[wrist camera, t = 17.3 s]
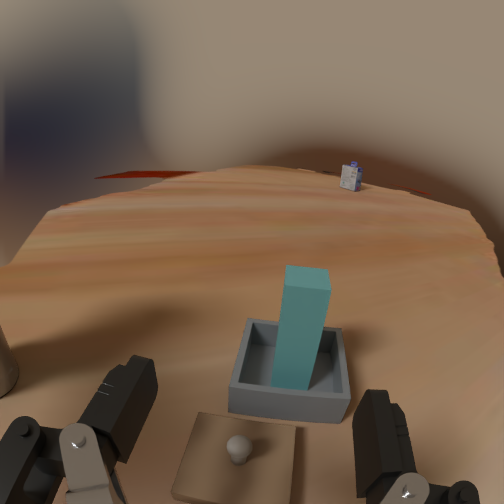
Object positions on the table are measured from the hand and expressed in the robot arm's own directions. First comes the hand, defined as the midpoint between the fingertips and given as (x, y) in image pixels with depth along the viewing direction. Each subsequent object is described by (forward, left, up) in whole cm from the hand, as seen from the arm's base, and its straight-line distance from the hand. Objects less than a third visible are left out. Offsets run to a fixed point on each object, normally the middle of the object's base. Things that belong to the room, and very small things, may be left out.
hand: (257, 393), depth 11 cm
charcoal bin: (+3, +20, -20) cm, 28 cm away
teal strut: (+3, +20, -19) cm, 28 cm away
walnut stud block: (-1, +7, -20) cm, 21 cm away
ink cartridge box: (+31, +155, -20) cm, 159 cm away
